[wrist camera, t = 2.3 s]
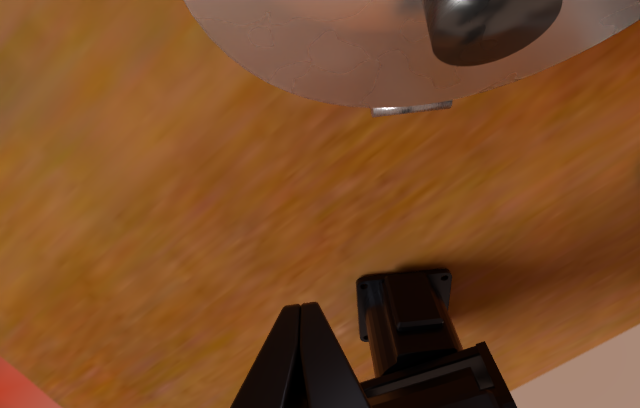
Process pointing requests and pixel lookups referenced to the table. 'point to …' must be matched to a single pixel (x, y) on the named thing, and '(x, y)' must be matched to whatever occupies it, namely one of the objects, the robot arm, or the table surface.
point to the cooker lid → (405, 44)
